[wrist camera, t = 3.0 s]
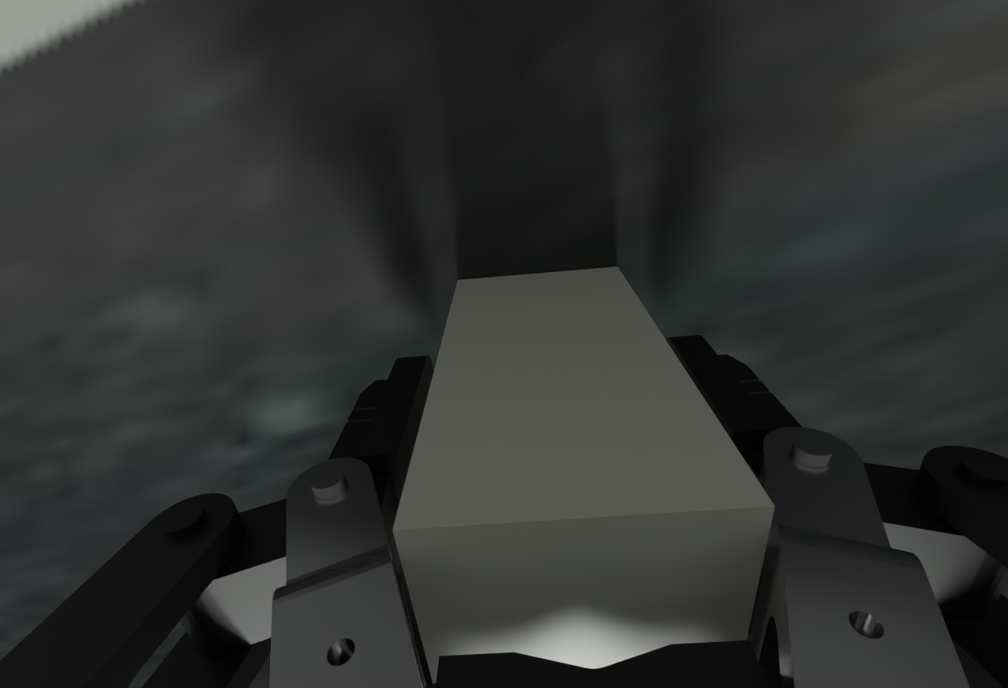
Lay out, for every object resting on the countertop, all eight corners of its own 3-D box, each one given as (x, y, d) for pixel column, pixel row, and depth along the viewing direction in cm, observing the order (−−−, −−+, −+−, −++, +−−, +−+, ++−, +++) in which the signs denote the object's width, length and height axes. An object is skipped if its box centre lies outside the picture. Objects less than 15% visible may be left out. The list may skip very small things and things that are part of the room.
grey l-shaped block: (457, 280, 12) (392, 530, 5) (617, 266, 12) (774, 505, 5) (512, 676, 20) (516, 999, 13) (611, 671, 20) (670, 995, 13)
